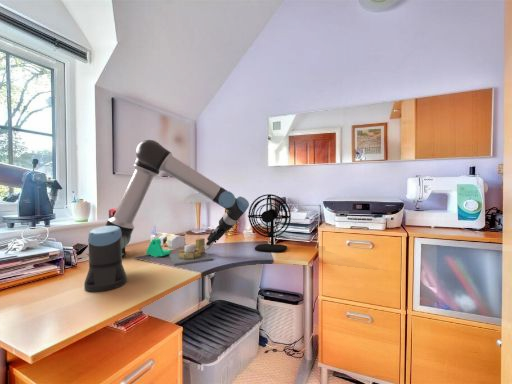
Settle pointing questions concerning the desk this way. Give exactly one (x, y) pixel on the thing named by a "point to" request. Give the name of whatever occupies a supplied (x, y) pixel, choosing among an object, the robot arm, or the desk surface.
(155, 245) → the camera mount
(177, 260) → the cap base
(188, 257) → the olive castle ruin model
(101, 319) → the desk surface
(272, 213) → the desk fan
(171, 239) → the diorama
